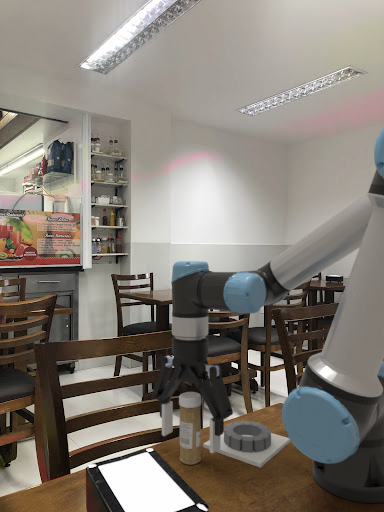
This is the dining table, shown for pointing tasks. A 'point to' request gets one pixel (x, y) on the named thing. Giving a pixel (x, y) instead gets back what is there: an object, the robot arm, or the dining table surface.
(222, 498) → the dining table surface
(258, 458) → the socket board
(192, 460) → the sprinkles bottle
